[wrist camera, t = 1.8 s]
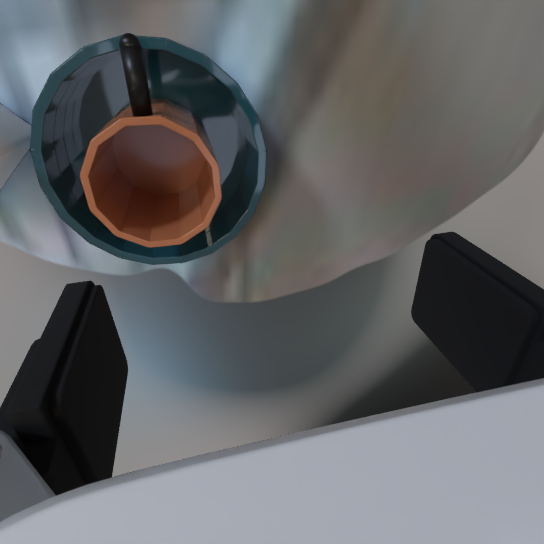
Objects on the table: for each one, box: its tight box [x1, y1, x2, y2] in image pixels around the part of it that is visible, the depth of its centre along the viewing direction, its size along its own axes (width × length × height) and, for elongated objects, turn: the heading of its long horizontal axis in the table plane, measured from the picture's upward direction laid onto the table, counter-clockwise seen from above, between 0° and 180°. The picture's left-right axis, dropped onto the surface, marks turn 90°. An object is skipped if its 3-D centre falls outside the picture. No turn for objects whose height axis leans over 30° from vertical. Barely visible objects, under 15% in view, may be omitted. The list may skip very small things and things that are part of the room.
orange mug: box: [80, 33, 222, 248], centre depth 23 cm, size 11×7×9 cm
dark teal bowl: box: [30, 35, 267, 265], centre depth 26 cm, size 14×14×6 cm
